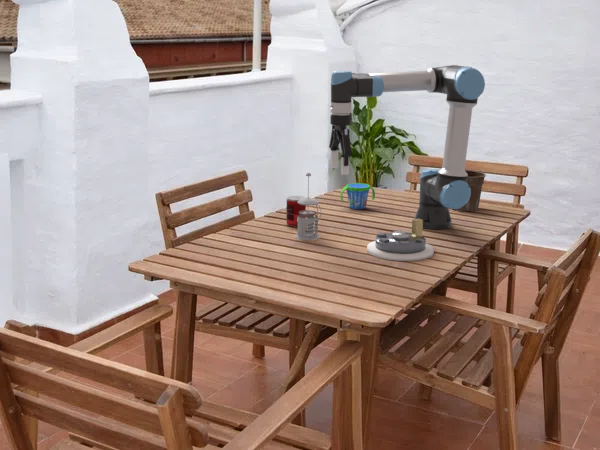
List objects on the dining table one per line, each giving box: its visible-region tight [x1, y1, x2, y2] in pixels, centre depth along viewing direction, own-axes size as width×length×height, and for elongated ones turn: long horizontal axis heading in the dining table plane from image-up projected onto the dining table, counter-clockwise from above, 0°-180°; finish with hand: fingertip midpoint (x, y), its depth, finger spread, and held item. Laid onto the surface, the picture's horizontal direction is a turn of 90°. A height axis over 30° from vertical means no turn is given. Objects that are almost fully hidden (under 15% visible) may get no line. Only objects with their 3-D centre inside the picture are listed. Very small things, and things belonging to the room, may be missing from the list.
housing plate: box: [366, 240, 435, 262], centre depth 306 cm, size 24×24×2 cm
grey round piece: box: [375, 218, 427, 254], centre depth 304 cm, size 18×18×9 cm
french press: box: [294, 172, 322, 241], centre depth 322 cm, size 10×12×25 cm
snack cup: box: [339, 182, 376, 210], centre depth 373 cm, size 16×10×10 cm
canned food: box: [286, 195, 307, 227], centre depth 342 cm, size 8×8×11 cm
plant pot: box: [453, 169, 487, 212], centre depth 373 cm, size 16×16×16 cm
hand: (339, 171), depth 313 cm, fingers open, 13 cm apart
